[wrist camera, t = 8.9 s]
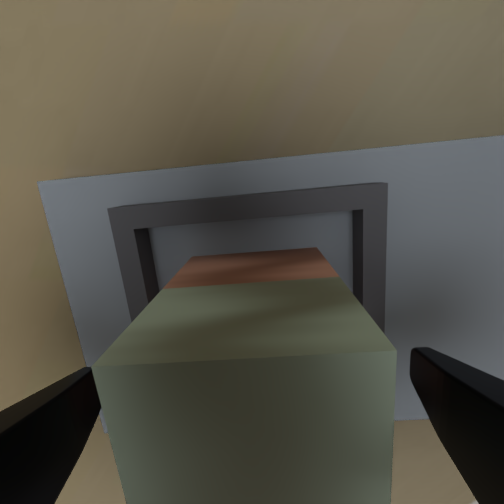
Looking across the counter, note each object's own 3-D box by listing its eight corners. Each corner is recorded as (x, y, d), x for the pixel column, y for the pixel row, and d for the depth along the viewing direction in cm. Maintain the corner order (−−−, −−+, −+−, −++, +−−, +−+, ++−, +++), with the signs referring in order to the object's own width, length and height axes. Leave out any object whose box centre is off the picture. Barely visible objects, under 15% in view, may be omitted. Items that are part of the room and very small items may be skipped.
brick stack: (316, 247, 11) (396, 350, 4) (320, 358, 12) (387, 570, 6) (191, 256, 12) (91, 367, 5) (207, 363, 13) (144, 573, 6)
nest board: (553, 132, 11) (631, 119, 9) (512, 394, 14) (562, 437, 12) (58, 181, 12) (10, 182, 10) (116, 413, 15) (90, 456, 13)
